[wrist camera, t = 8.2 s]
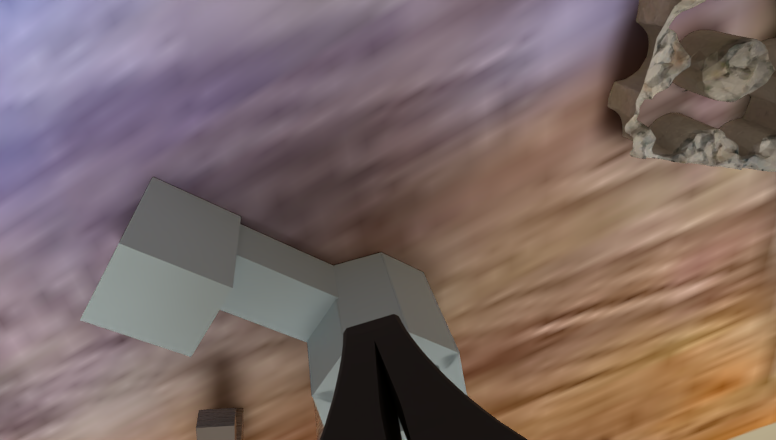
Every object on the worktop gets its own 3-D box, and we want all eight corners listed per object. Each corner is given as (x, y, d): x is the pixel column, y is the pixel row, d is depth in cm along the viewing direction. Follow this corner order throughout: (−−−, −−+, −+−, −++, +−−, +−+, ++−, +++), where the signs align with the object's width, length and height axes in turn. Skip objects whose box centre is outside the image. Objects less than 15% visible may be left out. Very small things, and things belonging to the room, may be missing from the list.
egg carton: (682, -170, 18) (782, -198, 15) (851, -118, 20) (976, -132, 17) (579, 133, 23) (637, 169, 19) (726, 153, 25) (803, 189, 21)
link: (451, 285, 25) (493, 366, 20) (386, 369, 26) (411, 463, 22) (166, 149, 20) (133, 215, 15) (108, 264, 21) (60, 357, 17)
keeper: (242, 355, 24) (237, 425, 21) (243, 435, 27) (238, 510, 23) (204, 357, 24) (193, 428, 21) (209, 438, 26) (199, 514, 23)
